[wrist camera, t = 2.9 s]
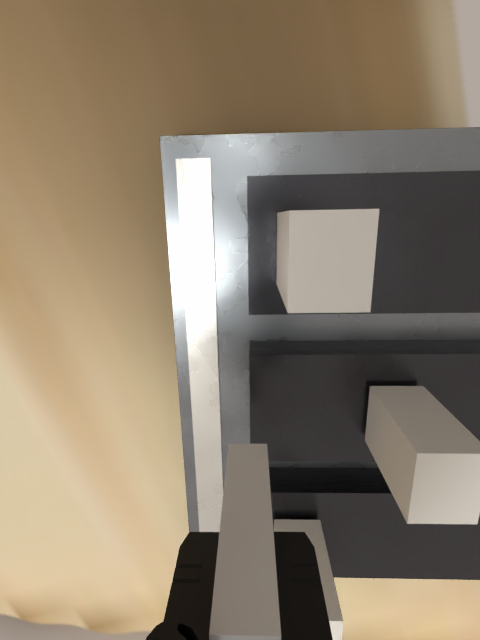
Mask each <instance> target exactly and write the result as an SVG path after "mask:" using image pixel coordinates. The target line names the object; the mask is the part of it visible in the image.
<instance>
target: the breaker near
mask: <svg viewBox="0 0 480 640" xmlns="http://www.w3.org/2000/svg"><path fill="white" fill-rule="evenodd" d="M378 220H379V209H340V210H290V211H284V212H279V213H277V281H276V284H277V286H278V289H279V292H280V294H281V297H282V300H283V302H284V305H285V308H286V310H287V313H359V312H370V311H371V300H372V288H373V277H374V265H375V254H376V243H377V231H378Z"/></svg>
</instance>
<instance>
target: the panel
mask: <svg viewBox="0 0 480 640" xmlns="http://www.w3.org/2000/svg"><path fill="white" fill-rule="evenodd" d="M160 145H161V159H162V172H163V186H164V199H165V213H166V226H167V240H168V253H169V267H170V280H171V293H172V307H173V320H174V334H175V347H176V361H177V374H178V388H179V401H180V415H181V428H182V441H183V455H184V468H185V482H186V495H187V509H188V522H189V532H219V531H220V521H221V512H222V502H223V492H224V482H225V472H226V462H227V452H228V444H267V450H268V464H269V477H270V491H271V504H272V518H273V531H274V519H290V520H320V521H321V526H322V530H323V535H324V539H325V543H326V548H327V552H328V557H329V561H330V565H331V570H332V574H333V577H343V578H403V579H463V580H480V514H479V519H478V524H407V522H406V520H405V518H404V516H403V514H402V512H401V510H400V508H399V507H398V505H397V503H396V501H395V499H394V497H393V495H392V493H391V491H390V489H389V487H388V485H387V483H386V481H385V479H384V477H383V475H382V473H381V471H380V469H379V467H378V465H377V463H376V461H375V459H374V457H373V455H372V453H371V452H370V450H369V448H368V446H367V444H366V442H365V433H366V422H367V411H368V401H369V390H370V386H424V387H425V388H426V389H427V390H428V391H429V392H430V393H431V394H432V395H433V396H434V397H435V398H436V399H437V400H438V401H439V402H440V403H441V404H442V405H443V406H444V407H445V408H446V409H447V410H448V411H449V412H450V413H451V414H452V415H453V416H454V417H455V418H456V419H457V420H458V421H459V422H460V423H461V424H463V425H464V426H465V427H466V428H467V429H468V430H469V431H470V432H471V433H472V434H473V435H474V436H475V437H476V438H477V439H478V440H479V441H480V127H471V128H435V129H399V130H363V131H327V132H291V133H255V134H219V135H183V136H160ZM340 209H379V220H378V231H377V243H376V254H375V265H374V277H373V288H372V300H371V311H370V312H359V313H287V310H286V308H285V305H284V302H283V300H282V297H281V294H280V292H279V289H278V286H277V284H276V281H277V213H279V212H284V211H290V210H340Z"/></svg>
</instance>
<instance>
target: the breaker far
mask: <svg viewBox="0 0 480 640" xmlns="http://www.w3.org/2000/svg"><path fill="white" fill-rule="evenodd" d="M274 532H305V533H306V535H307V536H308V538H309V539H310V541H311V542H312V544H313V545H314V547H315V552H316V557H317V562H318V568H319V572H320V578H321V584H322V588H323V593H324V598H325V603H326V608H327V613H328V618H329V623H330V628H331V633H332V639H333V640H342V630H343V618H342V614H341V609H340V605H339V601H338V596H337V592H336V587H335V583H334V579H333V574H332V570H331V565H330V561H329V557H328V552H327V548H326V543H325V539H324V535H323V530H322V526H321V521H320V520H290V519H274Z"/></svg>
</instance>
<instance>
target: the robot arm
mask: <svg viewBox="0 0 480 640" xmlns="http://www.w3.org/2000/svg"><path fill="white" fill-rule="evenodd" d="M146 640H333V639H332V633H331V628H330V623H329V618H328V613H327V608H326V603H325V598H324V593H323V588H322V584H321V578H320V572H319V568H318V562H317V557H316V552H315V547H314V545H313V544H312V542H311V541H310V539H309V538H308V536H307V535H306V533H305V532H274V531H273V518H272V504H271V491H270V477H269V464H268V450H267V444H228V452H227V462H226V472H225V482H224V492H223V502H222V512H221V521H220V531H219V532H189V534H188V535H187V537H186V538H185V540H184V541H183V543H182V544H181V546H180V549H179V554H178V558H177V563H176V568H175V572H174V576H173V583H172V586H171V590H170V595H169V599H168V604H167V608H166V613H165V618H164V622H162V623H160V624H159V625H157V626H156V627H155V628H154V629H153V630H152V632H151V633H150V634H149V635H148V636H147V638H146Z"/></svg>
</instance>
